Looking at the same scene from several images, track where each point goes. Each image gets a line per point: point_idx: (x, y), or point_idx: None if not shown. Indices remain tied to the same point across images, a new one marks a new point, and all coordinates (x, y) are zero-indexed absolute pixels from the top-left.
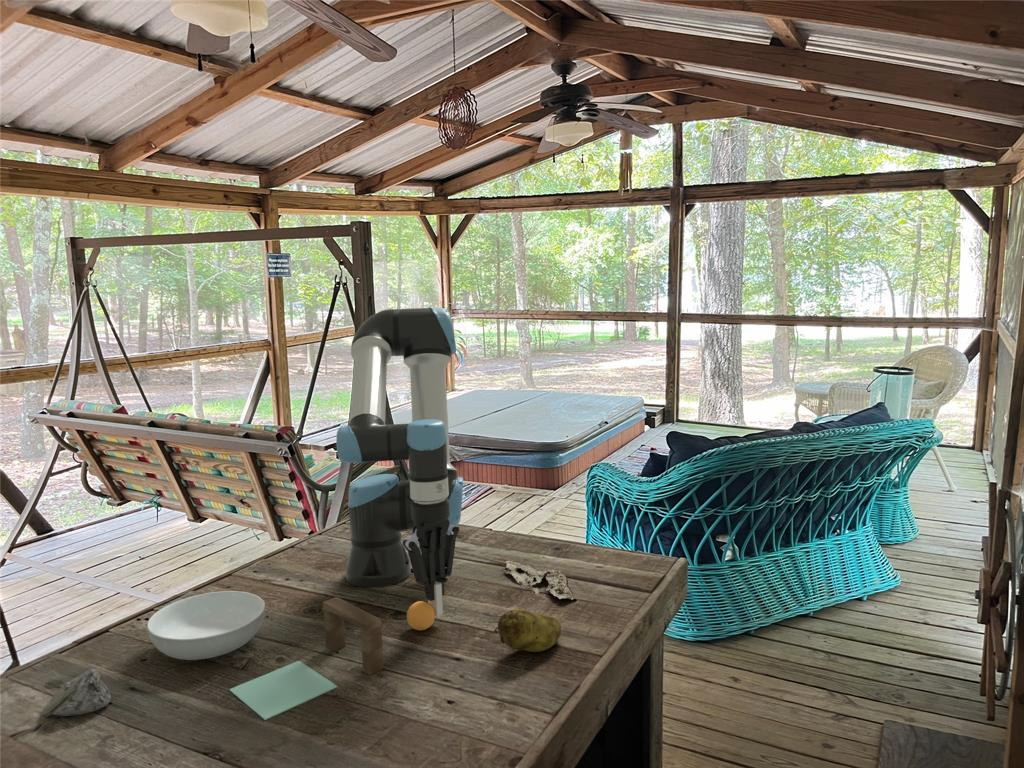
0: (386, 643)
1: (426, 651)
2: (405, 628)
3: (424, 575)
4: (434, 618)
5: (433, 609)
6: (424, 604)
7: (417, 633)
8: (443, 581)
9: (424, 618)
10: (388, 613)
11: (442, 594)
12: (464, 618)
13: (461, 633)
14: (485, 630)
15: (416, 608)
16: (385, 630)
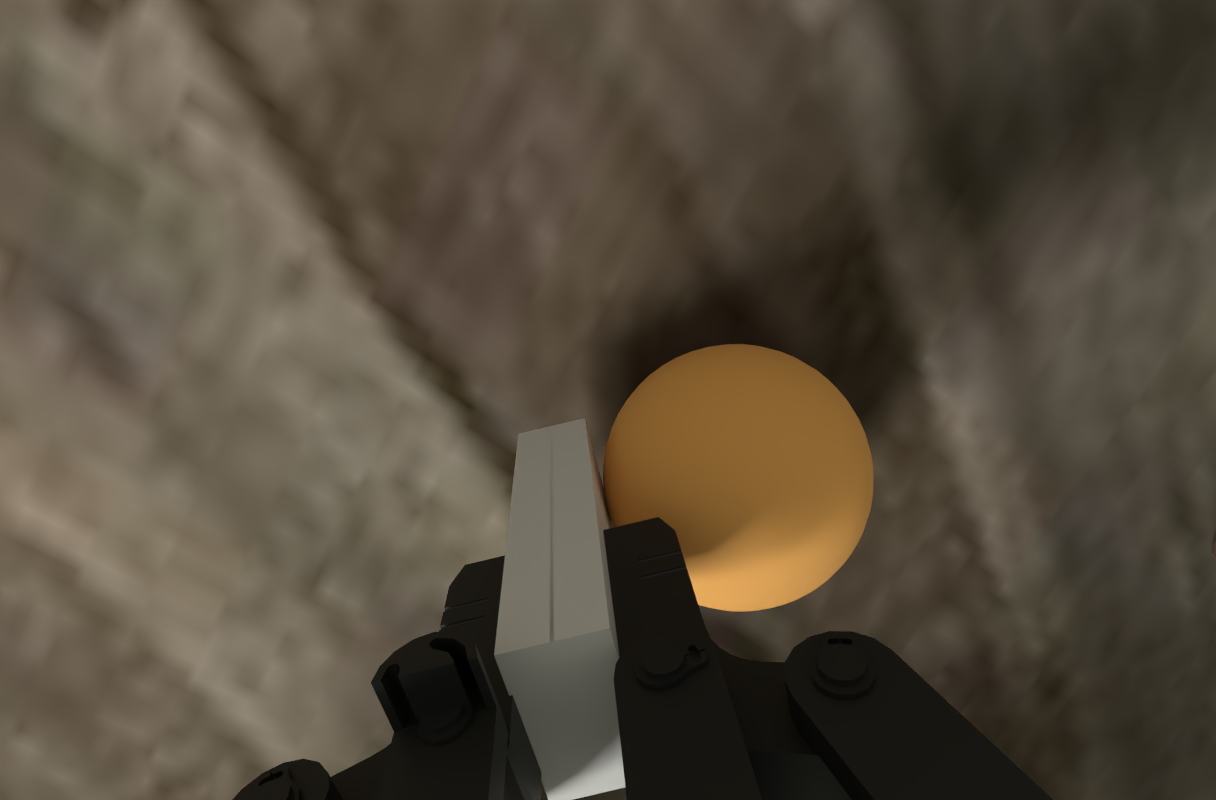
0: (1024, 368)
1: (892, 28)
2: None
3: (949, 797)
4: (631, 394)
5: (635, 448)
6: (750, 493)
7: None
8: (471, 645)
9: (777, 364)
10: None
11: (478, 573)
12: (321, 389)
13: (469, 144)
14: (234, 44)
15: (842, 481)
16: (909, 546)
